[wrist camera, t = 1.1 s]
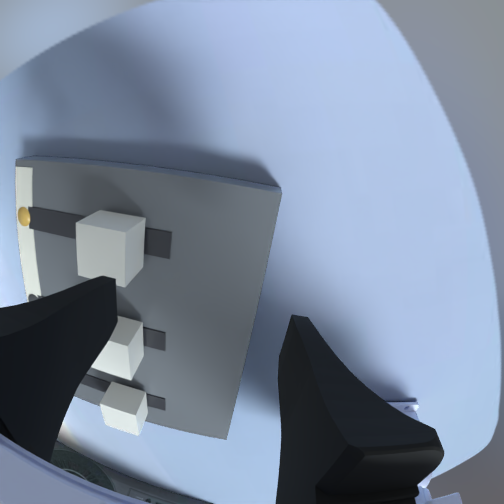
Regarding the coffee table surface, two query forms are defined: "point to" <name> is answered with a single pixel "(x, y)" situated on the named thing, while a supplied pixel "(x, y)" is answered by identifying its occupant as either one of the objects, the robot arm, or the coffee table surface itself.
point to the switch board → (160, 274)
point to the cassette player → (113, 478)
